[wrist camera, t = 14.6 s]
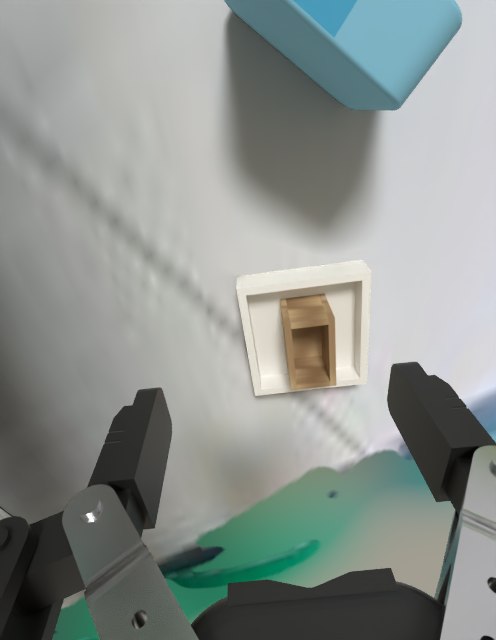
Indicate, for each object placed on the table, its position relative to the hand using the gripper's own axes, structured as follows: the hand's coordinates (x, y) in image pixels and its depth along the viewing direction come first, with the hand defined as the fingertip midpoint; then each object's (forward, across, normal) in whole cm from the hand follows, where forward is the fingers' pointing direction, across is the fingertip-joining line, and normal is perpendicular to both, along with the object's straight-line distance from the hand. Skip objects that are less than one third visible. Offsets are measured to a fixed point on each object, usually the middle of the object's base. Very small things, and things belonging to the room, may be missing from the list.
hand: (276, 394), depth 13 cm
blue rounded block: (+24, -6, -13) cm, 28 cm away
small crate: (+23, -5, +12) cm, 27 cm away
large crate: (+24, -5, +12) cm, 27 cm away
